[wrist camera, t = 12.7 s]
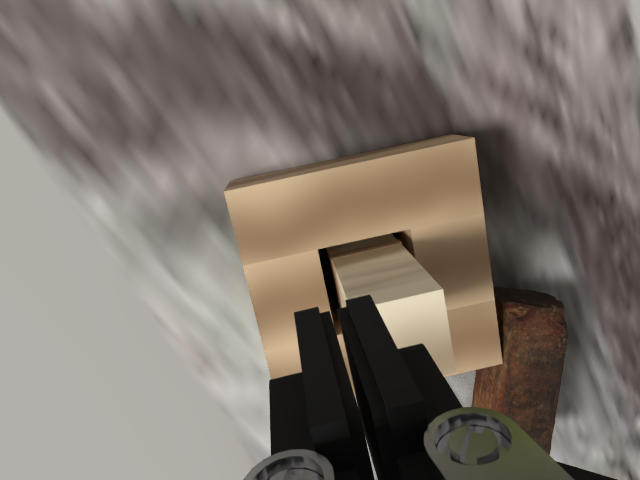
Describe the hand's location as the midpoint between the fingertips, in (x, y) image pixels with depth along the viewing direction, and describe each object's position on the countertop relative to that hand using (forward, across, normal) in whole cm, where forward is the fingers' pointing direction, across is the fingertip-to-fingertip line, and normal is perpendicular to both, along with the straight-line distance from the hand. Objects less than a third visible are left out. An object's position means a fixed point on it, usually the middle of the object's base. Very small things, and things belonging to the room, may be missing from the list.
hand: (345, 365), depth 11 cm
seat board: (+22, -3, +6) cm, 23 cm away
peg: (+22, -3, +6) cm, 23 cm away
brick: (+22, -12, +16) cm, 29 cm away
